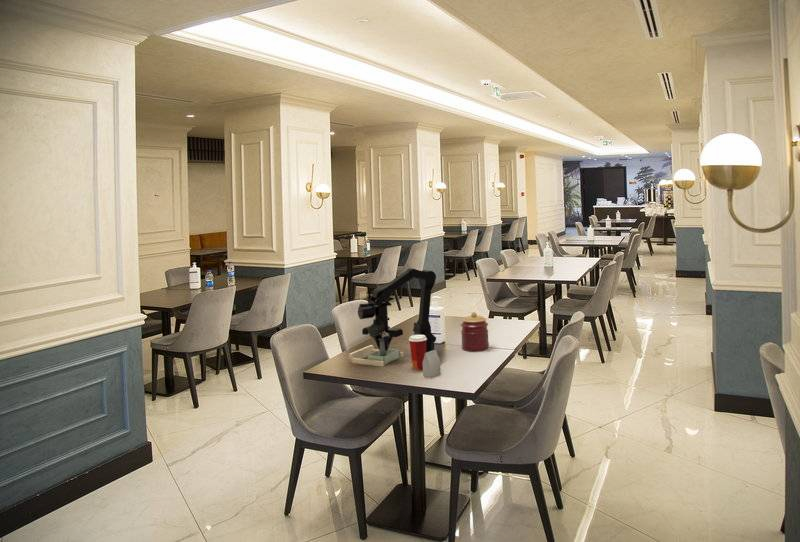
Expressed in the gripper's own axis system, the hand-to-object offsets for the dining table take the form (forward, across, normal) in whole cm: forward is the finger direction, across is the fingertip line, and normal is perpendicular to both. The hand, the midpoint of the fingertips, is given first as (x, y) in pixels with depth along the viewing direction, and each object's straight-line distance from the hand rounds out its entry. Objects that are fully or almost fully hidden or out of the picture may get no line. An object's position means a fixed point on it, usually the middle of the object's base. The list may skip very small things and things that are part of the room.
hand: (383, 350), depth 257 cm
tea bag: (+6, +30, -10) cm, 32 cm away
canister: (+6, +29, +36) cm, 47 cm away
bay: (+6, -4, 0) cm, 7 cm away
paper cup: (+6, +20, -3) cm, 21 cm away
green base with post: (+5, 0, 0) cm, 5 cm away
